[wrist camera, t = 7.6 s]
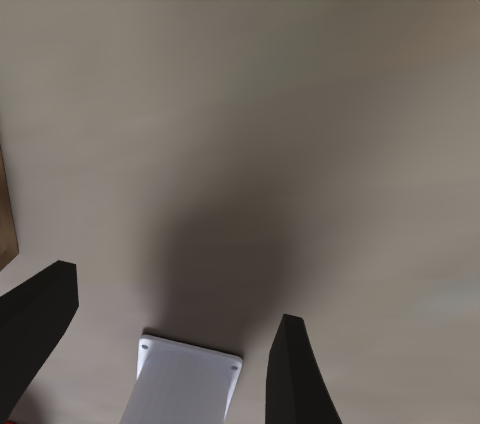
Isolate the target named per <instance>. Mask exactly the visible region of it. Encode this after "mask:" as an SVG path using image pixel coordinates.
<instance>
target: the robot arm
mask: <svg viewBox="0 0 480 424" xmlns="http://www.w3.org/2000/svg"><path fill="white" fill-rule="evenodd" d="M78 307H79V301H78V286H77V271H76V264H73V263H68V262H64V261H60V260H58V261H56V262H55V263H53V264H52V265H50V266H48V267H47V268H45V269H44V270H42V271H41V272H39V273H37V274H36V275H34V276H33V277H31V278H30V279H28V280H27V281H25V282H23V283H22V284H20V285H19V286H17V287H15V288H14V289H12V290H11V291H9V292H7V293H6V294H4V295H2V296H1V297H0V424H5V422H6V420H7V419H8V417H9V415H10V413H11V412H12V410H13V408H14V406H15V405H16V403H17V402H18V400H19V399H20V397H21V396H22V394H23V393H24V391H25V390H26V388H27V387H28V385H29V384H30V383H31V381H32V380H33V378H34V377H35V375H36V374H37V373H38V371H39V370H40V368H41V367H42V365H43V364H44V362H45V361H46V360H47V358H48V357H49V355H50V354H51V352H52V351H53V350H54V348H55V347H56V345H57V344H58V342H59V341H60V339H61V338H62V336H63V335H64V333H65V332H66V330H67V328H68V326H69V324H70V322H71V320H72V319H73V317H74V315H75V313H76V311H77V309H78ZM242 362H243V360H242V359H241V358H240V357H238V356H235V355H230V354H226V353H222V352H218V351H214V350H209V349H205V348H201V347H197V346H193V345H188V344H184V343H180V342H176V341H172V340H167V339H163V338H159V337H155V336H151V335H142V336H141V337H140V340H139V350H138V365H137V380H136V384H135V386H134V389H133V391H132V394H131V396H130V399H129V401H128V404H127V406H126V409H125V411H124V414H123V416H122V419H121V421H120V424H223V423H224V420H225V417H226V414H227V411H228V408H229V405H230V402H231V398H232V395H233V392H234V389H235V386H236V383H237V380H238V377H239V373H240V370H241V367H242ZM265 424H342V422H341V420H340V418H339V415H338V413H337V411H336V409H335V407H334V404H333V402H332V400H331V398H330V395H329V393H328V391H327V388H326V386H325V383H324V381H323V378H322V376H321V373H320V370H319V368H318V365H317V362H316V359H315V357H314V354H313V351H312V348H311V345H310V341H309V338H308V335H307V331H306V327H305V324H304V320H303V319H302V318H301V317H296V316H292V315H288V314H284V315H283V317H282V320H281V323H280V325H279V328H278V331H277V333H276V336H275V339H274V342H273V344H272V347H271V350H270V354H269V361H268V369H267V378H266V409H265Z"/></svg>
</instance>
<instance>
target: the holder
mask: <svg viewBox="0 0 480 424" xmlns="http://www.w3.org/2000/svg"><path fill="white" fill-rule="evenodd" d="M18 254H19V252H18V246H17V240H16V235H15V229H14V223H13V218H12V212H11V206H10V200H9V195H8V189H7V183H6V177H5V172H4V166H3V160H2V155H1V149H0V271H1V270H2V269H3V268H4V267H5V266H6V265H7V264H9V263H10V262H11V261H12V260H13V259H14V258H15V257H16V256H17V255H18Z"/></svg>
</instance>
